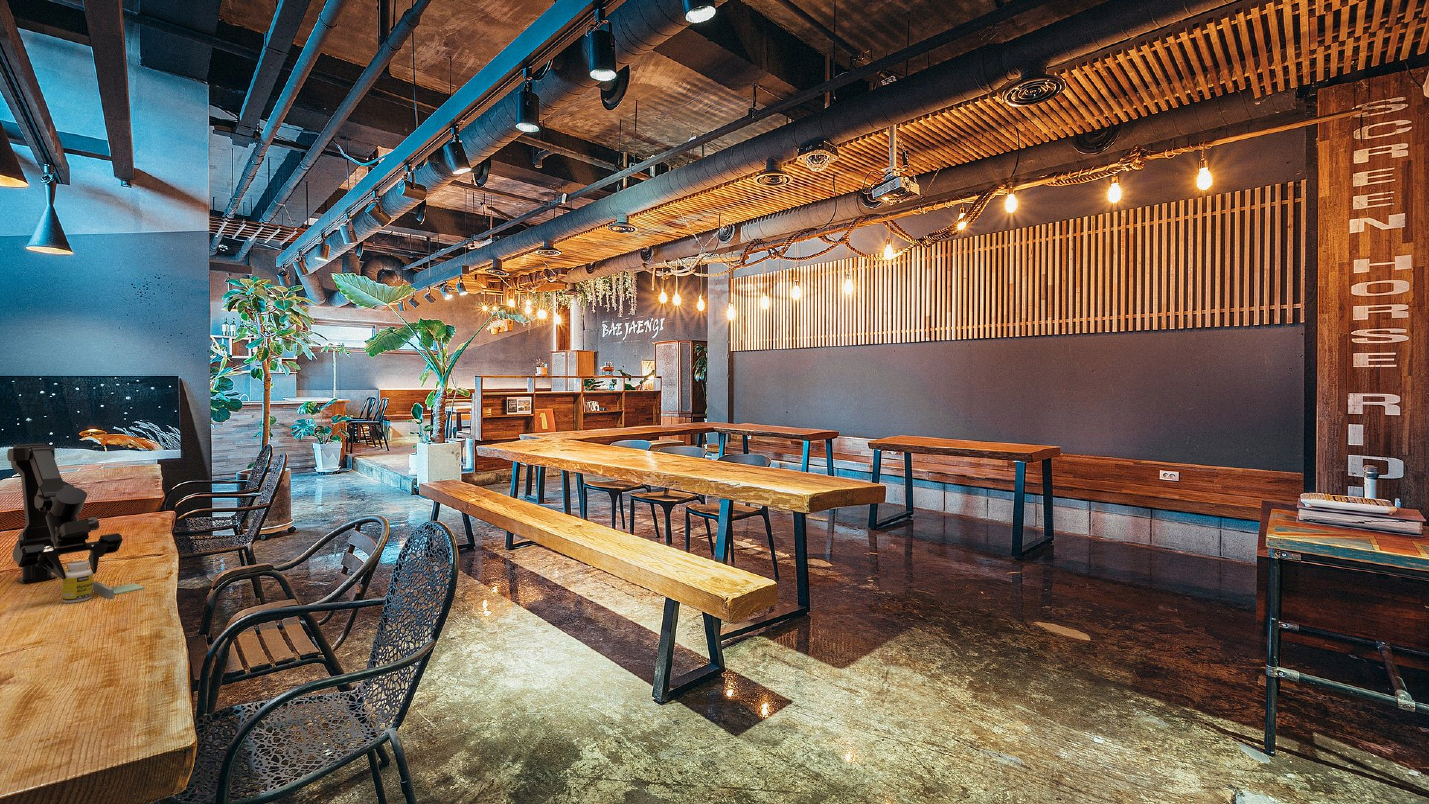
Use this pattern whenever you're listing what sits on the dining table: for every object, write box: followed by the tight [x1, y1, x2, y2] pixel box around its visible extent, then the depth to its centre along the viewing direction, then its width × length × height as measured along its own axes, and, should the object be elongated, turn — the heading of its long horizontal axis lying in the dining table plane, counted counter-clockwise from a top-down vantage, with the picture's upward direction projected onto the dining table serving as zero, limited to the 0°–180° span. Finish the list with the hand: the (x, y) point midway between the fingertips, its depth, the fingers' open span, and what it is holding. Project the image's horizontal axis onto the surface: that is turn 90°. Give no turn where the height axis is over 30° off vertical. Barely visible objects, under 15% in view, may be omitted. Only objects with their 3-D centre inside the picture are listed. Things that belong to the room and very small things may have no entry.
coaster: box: [111, 582, 145, 595], centre depth 169 cm, size 7×6×1 cm
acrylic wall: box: [93, 581, 115, 600], centre depth 164 cm, size 12×1×2 cm, turn 60°
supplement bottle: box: [62, 560, 94, 604], centre depth 160 cm, size 5×5×10 cm
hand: (80, 575), depth 159 cm, fingers closed on supplement bottle, 5 cm apart
